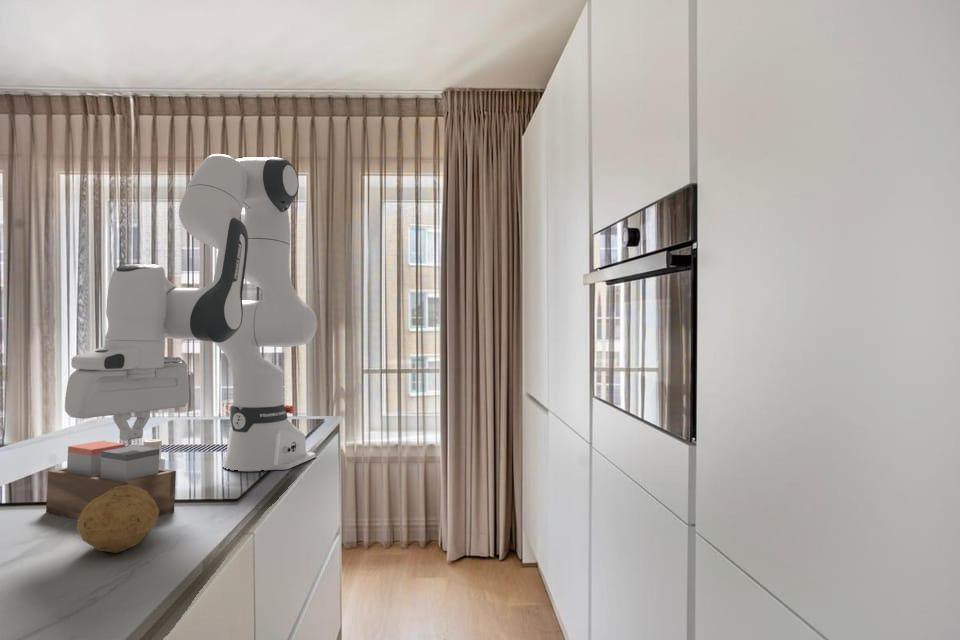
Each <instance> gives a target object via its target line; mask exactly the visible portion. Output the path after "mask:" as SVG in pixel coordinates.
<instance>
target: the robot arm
mask: <svg viewBox="0 0 960 640" xmlns="http://www.w3.org/2000/svg"><path fill="white" fill-rule="evenodd" d="M299 182H300V181H299V176H298V172H297V170H296V168H295V167H294V165H293V164H292V163H291V162H290V160H288V159H286V158H285V159H284V158H281V157H276V156H271V157H253V156H252V157H243V158H234V157H232V156H230V155H227V154H224V153H223V154H221V153H220V154H219V153H218V154H217V153H216V154H215V153H214V154H211V155H209V156H207V157H206V158H204V160H203V161H202V162H201V163H200V165H199V166H198V167H197V169H196V170H195V172H194V173H193V174H192V177H191V179H190V181H189V182H188V184H187V187H186V189H185V191H184V194H183V196H182V198H181V200H180V204H179V207H178V208H179V209H178V216H179V220H180V222H181V225H182V227H184V229H185V230H186V231H187V233H189V234H190V235H191V236H192V237H193V238H194V239H196V240H197V241H199V242H201V243H202V244H205V245H208V246H210V247H212V248H215V249H217V251H218V252H217V258H216V263H215V264H216V265H215V270H214V276H213V280H212V282H211V283H210V284H208V285H206V286H204V287H181V286H177V285H176V284H174V283H172V282H171V280H169V279H168V278H167V277H166V272H165V268H164V267H163V266H162V265H159V264H152V263H150V264H149V263H141V264H138V263H137V264H136V263H135V264H134V263H133V264H123V265H119V266H118V267H116V268H114V270H113V271H112V274H111V276H110V279H109V282H108V283H109V284H108V290H107V297H106V313H105V314H106V318H107V321H108V322H107V323H108V324H107V325H108V327H107V330H106V331H107V332H106V334H105V336H104V337H105V338H104V346H101V347H98V348H95V349H92V350H89V351H86V352H82V353H79V354H76V355H75V356H73V357H72V358H71V367H72V368H73V369H75V371H73V372H72V373H71V374H70V376H69V377H68V380H67V382H66V383H67V384H66V391H65V398H64V399H65V400H64V410H65V412H66V414H67V415H68V416H69V417H70V418H72V419H91V418H92V419H93V418H99V417H109V416H113V422H114V423H115V425H116V427H117V429H118V430H119V440H120V441H124V442H125V441H131V440H137V439H142V438H143V434H144V429H145V426H146V425H147V423H148V421H149V420H150V418H151V412H152V411H160V410H169V409H177V408H178V409H179V408H185V407H186V406H187V405H188V403H189V401H190V385H189V376H188V364H187V363H186V361H185V360H184V359H182V358H181V357H180V356H172V357H170V356H165V351H166V339H172V340H173V339H175V340H195V341H196V340H197V341H202V342H210V343H214V344H215V345H216V346H217V347H218V348H219V349H220V350H221V351H222V352H223V354H224V356H225V357H226V359H227V361H228V363H229V366H230V368H231V373H232V388H233V390H232V405H231V406H230V411H229V414H230V415H229V421H230V423H231V426H230V428H229V434H228V440H227V447H226V453H225V456H224V457H223V464H222V468H223V467H224V469H225V468H226V470H228V469H230V470H229V471H234V470H238V471H237V472H262V471H261V470H264V471H273V470H274V471H276V470H277V471H279V470H280V471H281V470H289V469H291V468H293V467H296V466H298V465H300V464H303V463H305V462H308V461H310V460H313V459H314V458H316V453H315V452H313V451H311V450H307V444H306V443H307V442H306V435H305V433H303V432H302V430H300V429H299V428H298V427H296V425H295V424H294V423H292V422H291V421H289V419H288V418H289V417H288V414H294V413H295V412H296V407H295V405H293V404H291V405H289V404H286V405H285V404H283V403H284V374H283V371H282V370H281V369H280V368H279V366H277V365H276V364H274V363H272V362H270V361H268V360H266V359H265V358H264V357H263V355H262V354H261V350H260V348H261V347H271V348H272V347H275V348H289V347H290V348H292V347H297V346H304V345H308V344H309V343H310V342H311V340H313V338H314V336H315V334H316V332H317V329H318V320H317V316H316V313H315V312H314V310H313V309H312V307H311V306H309V304H307V303H306V302H305V301H304V300H303V299H302V298H301V297H300V296H299V295H298V293H297V291H296V290H295V288H294V285H293V283H292V279H291V272H290V271H291V270H290V258H291V257H290V256H291V255H290V253H291V226H290V224H291V223H290V216H289V211H288V210H289V209H290V207H291V205H292V203H293V202H294V200H295V198H296V197H297V196H298V192H299V185H300V184H299ZM243 208H244V209H245V217H244V222H242V221H241V219H240V217H241V213H242V211H243ZM245 280H246V281H247V282H248V283H250V284H252V285H253V286H255V287H257V288H259V289H261V291H262V293H263V299H261V300H255V299H253V300H250V299H249V300H248V299H243V290H244V284H245V283H244V282H245ZM131 414H133V415H134V416H133V417H134V418H136V419H135V421H134V423H133V425H132V427H130V425H129V423H128V421H129V420H131Z"/></svg>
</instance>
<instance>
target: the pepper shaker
mask: <svg viewBox="0 0 960 640" xmlns="http://www.w3.org/2000/svg"><path fill="white" fill-rule="evenodd" d="M162 441H163V439H157V438H155V439H154V438H153V439H146V440H143V443H142V446H144V447H151V448H158V449H159V468H162V469H166V467H165V466H166V457H164V455H162V443H163V442H162Z"/></svg>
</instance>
